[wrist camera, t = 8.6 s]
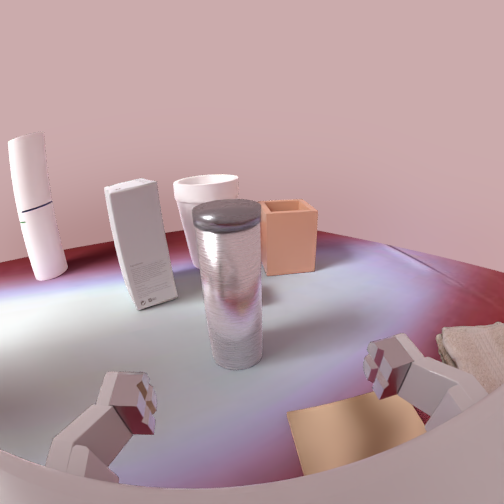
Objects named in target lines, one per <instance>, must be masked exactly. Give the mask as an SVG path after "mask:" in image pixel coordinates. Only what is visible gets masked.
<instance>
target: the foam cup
mask: <svg viewBox="0 0 504 504" xmlns="http://www.w3.org/2000/svg"><path fill="white" fill-rule="evenodd" d="M238 183H239V182H238V176H235V175H226V174H223V175H222V174H216V175H202V176H194V177H189V178H183V179H180V180H177V181H175V182H174V183H173V186H174V195H175V200H177V204H178V208H179V213H180V217H181V221H182V225H183V229H184V232H185V236H186V240H187V244H188V248H189V251H190V255H191V259H192V261H193V265H194V266H195V267H196V268H199V269H200V267H199V259H198V251H197V242H196V233H195V226H194V225H193V217H192V209H193V208H194V207H195V206H197V205H199V204H202V203H205V202H209V201H215V200H223V199H237V196H238V194H239V184H238Z"/></svg>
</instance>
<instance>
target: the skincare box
mask: <svg viewBox="0 0 504 504" xmlns="http://www.w3.org/2000/svg"><path fill="white" fill-rule="evenodd" d="M104 190H105V196H106V202H107V208H108V214H109V219H110V224H111V229H112V234H113V239H114V243H115V248H116V252H117V256H118V260H119V264H120V268H121V271H122V275H123V279H124V282H125V285H126V288H127V290H128V292H129V294H130V296H131V299H132V301H133V302H134V304H135V306H136V308H137V310H141V309H144V308H147V307H149V306H153V305H156V304H160V303H164V302H167V301H170V300H174V299H176V298H177V297H178V294H177V290H176V285H175V281H174V276H173V272H172V267H171V262H170V257H169V252H168V246H167V241H166V236H165V231H164V225H163V219H162V213H161V207H160V201H159V194H158V187H157V181H151V180H147V179H143V178H141V179H136V180H131V181H127V182H123V183H119V184H115V185H111V186H107V187H105V188H104Z"/></svg>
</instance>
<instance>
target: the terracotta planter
mask: <svg viewBox="0 0 504 504" xmlns="http://www.w3.org/2000/svg"><path fill="white" fill-rule="evenodd" d="M258 203H260V204H261V222H260V238H261V262H262V264H263V267H264V269H265V272H266V275H267V276H274V275H284V274H293V273H303V272H312V271H315V256H316V240H317V220H318V219H317V218H318V211H317V210H316V209H315V208H313V207H312V206H311V205H309V204H308V203H307V202H305V201H304V200H303V199H294V200H274V201H258Z"/></svg>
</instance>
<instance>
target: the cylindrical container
mask: <svg viewBox="0 0 504 504" xmlns="http://www.w3.org/2000/svg"><path fill="white" fill-rule="evenodd" d="M8 146H9V159H10V168H11V176H12V183H13V189H14V195H15V200H16V206H17V211H18V216H19V220H20V225H21V229H22V233H23V237H24V240H25V244H26V248H27V251H28V255H29V258H30V262H31V265H32V268H33V271H34V274H35V277H36V279H37V280H39V281H45V280H50V279H53V278H55V277H58V276H59V275H61V274H63V273H64V272H65V271H66V270H67V268H68V265H67V262H66V258H65V255H64V251H63V247H62V244H61V239H60V235H59V231H58V227H57V222H56V217H55V212H54V207H53V202H52V196H51V190H50V184H49V177H48V170H47V160H46V150H45V139H44V132H35V133H30V134H26V135H23V136H20V137H17V138H14V139H12V140H10V141H9V142H8Z"/></svg>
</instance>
